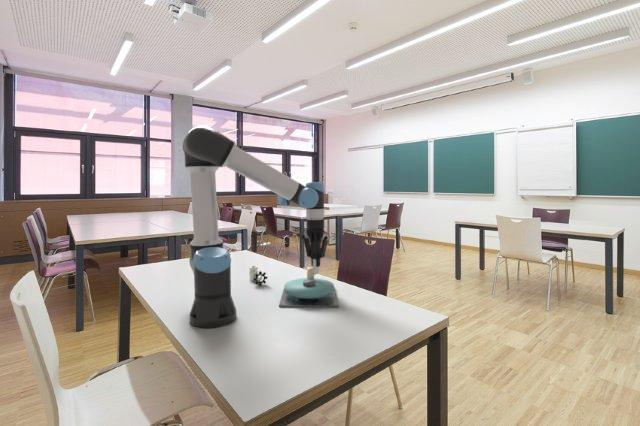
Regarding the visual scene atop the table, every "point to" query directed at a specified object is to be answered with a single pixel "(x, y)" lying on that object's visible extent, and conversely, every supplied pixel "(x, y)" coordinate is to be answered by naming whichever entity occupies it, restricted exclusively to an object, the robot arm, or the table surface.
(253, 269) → the valve
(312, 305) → the wheel stand
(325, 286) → the handwheel
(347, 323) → the table surface
